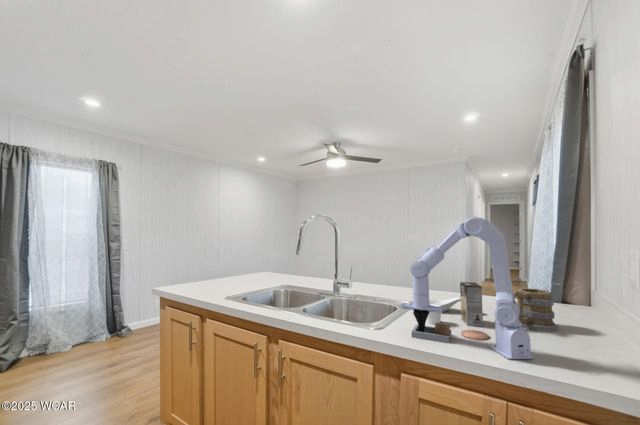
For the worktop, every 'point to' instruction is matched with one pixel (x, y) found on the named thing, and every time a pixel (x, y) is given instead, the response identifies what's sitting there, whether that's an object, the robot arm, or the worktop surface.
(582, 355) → the worktop surface
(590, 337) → the worktop surface
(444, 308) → the spoon rest
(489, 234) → the robot arm
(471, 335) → the peach dome
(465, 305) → the coffee box
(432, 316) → the white cylinder
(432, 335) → the grey shallow rectangular tray
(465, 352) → the worktop surface
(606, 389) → the worktop surface
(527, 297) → the tankard
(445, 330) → the block
